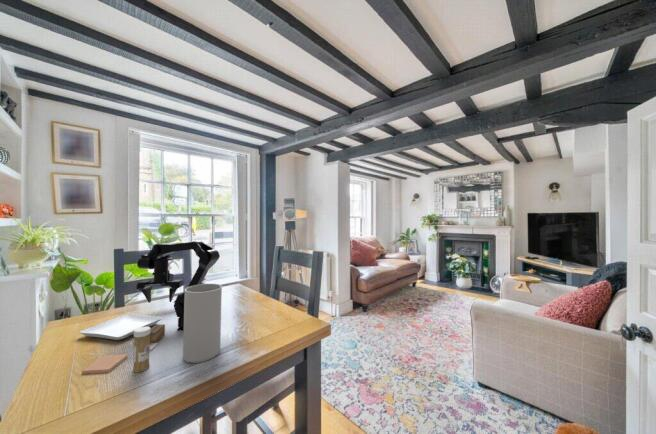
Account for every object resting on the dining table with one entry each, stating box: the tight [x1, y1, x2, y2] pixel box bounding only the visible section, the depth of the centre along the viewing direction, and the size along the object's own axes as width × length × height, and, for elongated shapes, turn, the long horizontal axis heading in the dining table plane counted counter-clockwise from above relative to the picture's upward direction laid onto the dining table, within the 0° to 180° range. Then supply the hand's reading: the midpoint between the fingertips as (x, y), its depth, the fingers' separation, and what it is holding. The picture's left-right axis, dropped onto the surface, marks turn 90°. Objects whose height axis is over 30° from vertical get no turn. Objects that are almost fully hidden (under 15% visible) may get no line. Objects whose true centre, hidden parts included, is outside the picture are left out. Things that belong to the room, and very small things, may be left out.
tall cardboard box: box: [150, 324, 166, 352], centre depth 101 cm, size 6×13×5 cm, turn 9°
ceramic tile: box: [81, 354, 128, 375], centre depth 85 cm, size 8×2×9 cm
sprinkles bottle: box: [132, 326, 152, 373], centre depth 83 cm, size 5×5×13 cm
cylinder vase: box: [182, 283, 223, 364], centre depth 93 cm, size 12×12×25 cm
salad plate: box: [79, 313, 163, 341], centre depth 112 cm, size 21×21×3 cm
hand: (160, 302), depth 118 cm, fingers open, 9 cm apart
